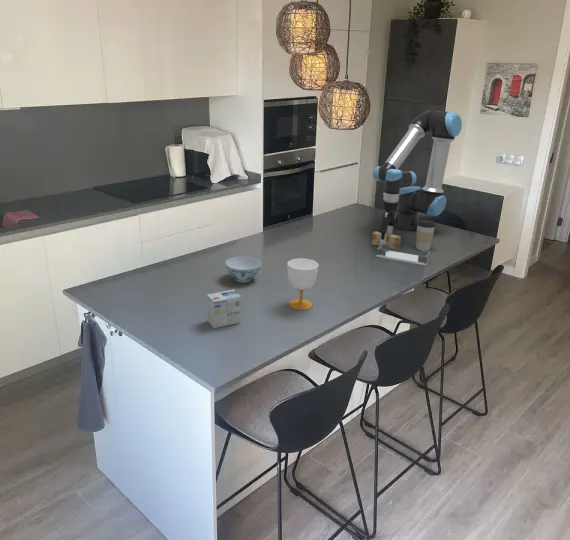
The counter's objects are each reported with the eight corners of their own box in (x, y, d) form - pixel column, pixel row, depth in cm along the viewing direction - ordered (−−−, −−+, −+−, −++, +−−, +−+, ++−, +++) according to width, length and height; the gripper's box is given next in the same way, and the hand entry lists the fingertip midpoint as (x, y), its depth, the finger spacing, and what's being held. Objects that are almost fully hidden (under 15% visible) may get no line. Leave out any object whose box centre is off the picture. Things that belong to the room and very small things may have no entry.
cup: (291, 296, 215) (293, 256, 209) (319, 301, 211) (322, 261, 205) (281, 307, 205) (282, 266, 198) (310, 314, 201) (312, 271, 195)
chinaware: (221, 274, 233) (221, 258, 230) (254, 271, 238) (254, 254, 235) (231, 288, 220) (231, 271, 217) (265, 284, 225) (266, 267, 222)
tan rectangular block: (371, 244, 278) (372, 233, 275) (374, 242, 281) (375, 231, 278) (397, 249, 271) (398, 238, 269) (400, 247, 275) (401, 236, 272)
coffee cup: (432, 252, 269) (436, 223, 263) (413, 250, 270) (417, 221, 265) (431, 246, 277) (435, 218, 271) (413, 244, 279) (417, 216, 273)
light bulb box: (234, 315, 198) (234, 288, 194) (241, 323, 193) (241, 295, 188) (206, 320, 193) (206, 293, 189) (213, 329, 188) (213, 301, 184)
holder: (380, 251, 268) (381, 243, 266) (429, 259, 259) (430, 251, 258) (376, 256, 260) (377, 248, 259) (426, 265, 251) (427, 257, 250)
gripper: (389, 194, 279) (384, 233, 287) (376, 205, 258) (371, 247, 266) (403, 197, 276) (398, 236, 284) (392, 207, 255) (386, 249, 263)
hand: (385, 241), depth 275 cm, fingers open, 13 cm apart
